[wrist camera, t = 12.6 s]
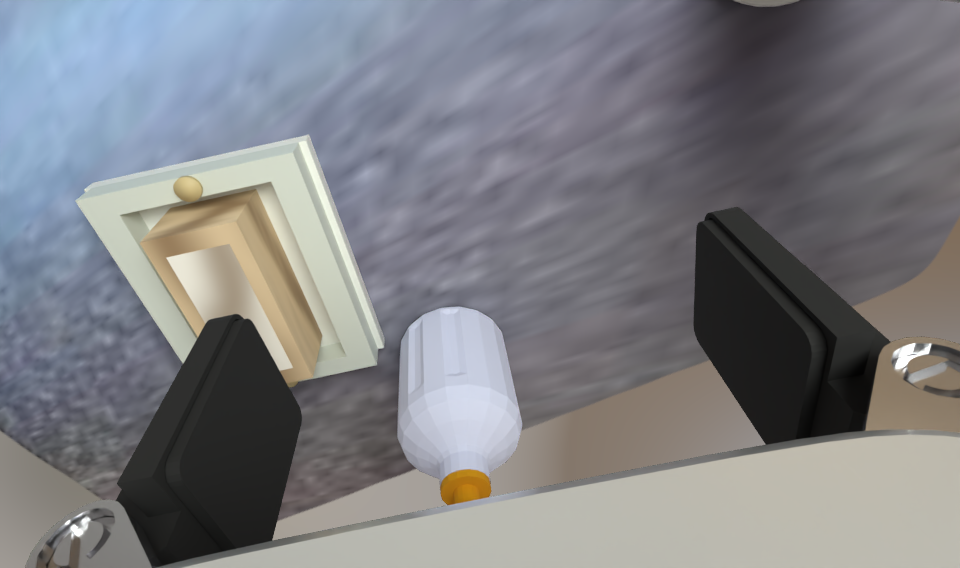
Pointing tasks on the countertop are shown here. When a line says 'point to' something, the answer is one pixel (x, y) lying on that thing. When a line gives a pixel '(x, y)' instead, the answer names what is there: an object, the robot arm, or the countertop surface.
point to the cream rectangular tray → (295, 217)
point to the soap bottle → (457, 401)
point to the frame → (236, 275)
